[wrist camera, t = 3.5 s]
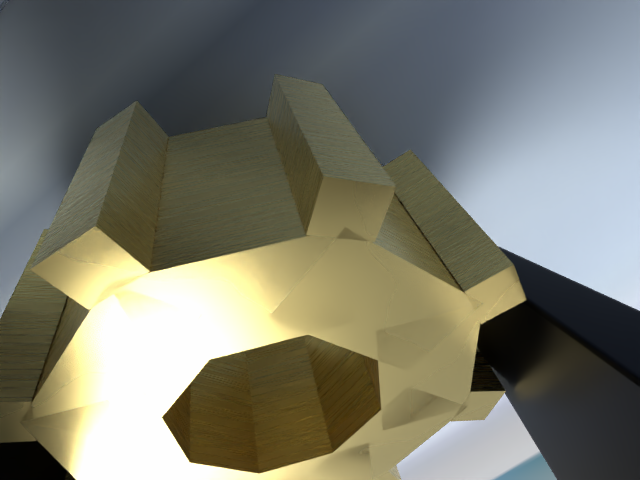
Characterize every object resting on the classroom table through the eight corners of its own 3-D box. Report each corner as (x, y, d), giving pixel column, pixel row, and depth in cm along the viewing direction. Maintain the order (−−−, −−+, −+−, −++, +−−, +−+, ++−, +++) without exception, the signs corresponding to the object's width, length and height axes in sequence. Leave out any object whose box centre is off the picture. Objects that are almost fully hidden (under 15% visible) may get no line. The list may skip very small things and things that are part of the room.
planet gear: (421, 335, 12) (489, 464, 9) (141, 408, 11) (122, 573, 8) (428, 44, 7) (567, 122, 5) (-39, 134, 7) (-211, 293, 4)
